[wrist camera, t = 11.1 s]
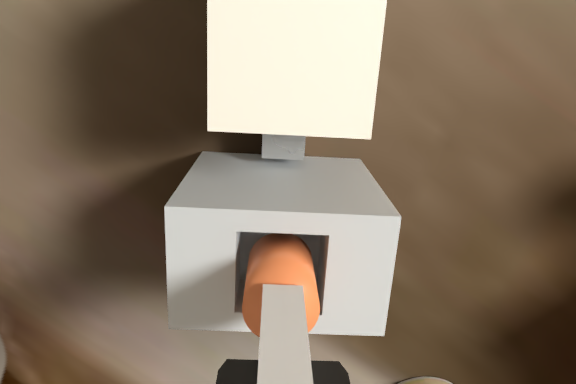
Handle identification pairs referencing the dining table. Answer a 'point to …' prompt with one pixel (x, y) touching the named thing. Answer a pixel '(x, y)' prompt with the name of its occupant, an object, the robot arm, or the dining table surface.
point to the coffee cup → (425, 380)
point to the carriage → (293, 66)
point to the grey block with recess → (279, 219)
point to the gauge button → (279, 275)
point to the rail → (283, 147)
